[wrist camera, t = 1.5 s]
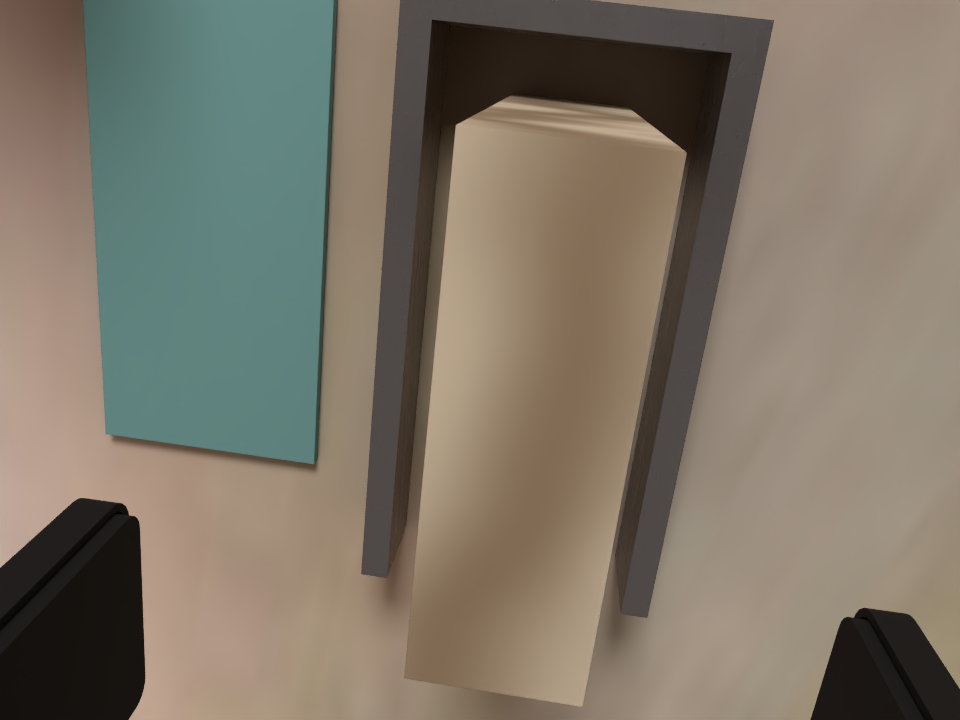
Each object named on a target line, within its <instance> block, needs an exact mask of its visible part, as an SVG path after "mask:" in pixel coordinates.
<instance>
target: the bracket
mask: <svg viewBox="0 0 960 720" xmlns="http://www.w3.org/2000/svg"><path fill="white" fill-rule="evenodd" d="M773 23H774V20H765V19H756V18H747V17H738V16H729V15H719V14H710V13H701V12H692V11H683V10H674V9H665V8H655V7H646V6H637V5H628V4H619V3H610V2H601V1H591V0H400V12H399V27H398V42H397V56H396V71H395V86H394V101H393V115H392V130H391V145H390V160H389V174H388V189H387V204H386V218H385V233H384V248H383V263H382V277H381V292H380V307H379V322H378V336H377V351H376V366H375V380H374V395H373V410H372V425H371V439H370V454H369V469H368V484H367V498H366V513H365V528H364V542H363V557H362V572H361V574H364V575H371V576H377V577H384V578H387V576H388V573H389V571H390V568H391V565H392V562H393V559H394V557H395V554H396V551H397V548H398V545H399V543H400V540H401V537H402V534H403V531H404V529H405V526H406V519H407V508H408V497H409V485H410V474H411V462H412V451H413V440H414V428H415V417H416V405H417V394H418V383H419V371H420V360H421V348H422V337H423V325H424V314H425V303H426V291H427V280H428V268H429V257H430V246H431V234H432V223H433V211H434V200H435V189H436V177H437V166H438V154H439V143H440V131H441V120H442V109H443V97H444V86H445V74H446V63H447V52H448V40H449V29H450V25H453V26H462V27H471V28H480V29H488V30H497V31H506V32H515V33H524V34H533V35H542V36H551V37H560V38H569V39H578V40H586V41H595V42H604V43H613V44H622V45H631V46H640V47H649V48H658V49H667V50H676V51H685V52H693V53H702V54H711V56H710V61H709V66H708V71H707V77H706V82H705V87H704V92H703V98H702V103H701V108H700V113H699V119H698V124H697V129H696V134H695V140H694V145H693V150H692V155H691V161H690V166H689V171H688V176H687V182H686V187H685V192H684V197H683V203H682V208H681V213H680V218H679V224H678V229H677V234H676V239H675V245H674V250H673V255H672V260H671V266H670V271H669V276H668V281H667V287H666V292H665V297H664V302H663V308H662V313H661V318H660V323H659V329H658V334H657V339H656V344H655V350H654V355H653V360H652V365H651V371H650V376H649V381H648V386H647V392H646V397H645V402H644V407H643V413H642V418H641V423H640V428H639V434H638V439H637V444H636V449H635V455H634V460H633V465H632V471H631V476H630V481H629V486H628V492H627V497H626V502H625V507H624V513H623V518H622V523H621V528H620V534H619V539H618V544H617V549H616V555H615V556H616V567H617V578H618V589H619V600H620V611H621V614H626V615H632V616H639V617H646V618H647V616H648V612H649V607H650V602H651V598H652V593H653V588H654V584H655V579H656V574H657V569H658V565H659V560H660V555H661V551H662V546H663V541H664V536H665V532H666V527H667V522H668V518H669V513H670V508H671V503H672V499H673V494H674V489H675V485H676V480H677V475H678V470H679V466H680V461H681V456H682V452H683V447H684V442H685V437H686V433H687V428H688V423H689V419H690V414H691V409H692V404H693V400H694V395H695V390H696V386H697V381H698V376H699V371H700V367H701V362H702V357H703V353H704V348H705V343H706V339H707V334H708V329H709V324H710V320H711V315H712V310H713V306H714V301H715V296H716V291H717V287H718V282H719V277H720V273H721V268H722V263H723V258H724V254H725V249H726V244H727V240H728V235H729V230H730V225H731V221H732V216H733V211H734V207H735V202H736V197H737V192H738V188H739V183H740V178H741V174H742V169H743V164H744V159H745V155H746V150H747V145H748V141H749V136H750V131H751V126H752V122H753V117H754V112H755V108H756V103H757V98H758V93H759V89H760V84H761V79H762V75H763V70H764V65H765V61H766V56H767V51H768V46H769V42H770V37H771V32H772V28H773Z"/></svg>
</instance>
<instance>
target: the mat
mask: <svg viewBox="0 0 960 720" xmlns="http://www.w3.org/2000/svg"><path fill="white" fill-rule="evenodd" d="M83 14H84V33H85V52H86V70H87V89H88V108H89V126H90V145H91V164H92V183H93V201H94V220H95V239H96V258H97V276H98V295H99V314H100V333H101V351H102V370H103V389H104V408H105V426H106V434H109V435H116V436H123V437H130V438H137V439H144V440H151V441H158V442H164V443H171V444H178V445H185V446H192V447H199V448H206V449H213V450H219V451H226V452H233V453H240V454H247V455H254V456H261V457H268V458H274V459H281V460H288V461H295V462H302V463H309V464H314V463H315V462H316V460H317V455H318V433H319V410H320V387H321V364H322V341H323V319H324V296H325V273H326V250H327V228H328V205H329V182H330V159H331V136H332V114H333V91H334V68H335V45H336V23H337V0H83Z"/></svg>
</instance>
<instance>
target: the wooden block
mask: <svg viewBox="0 0 960 720" xmlns="http://www.w3.org/2000/svg"><path fill="white" fill-rule="evenodd" d="M686 155H687V152H685V151H684V150H683V149H682V148H680V147H679V146H678V145H676V144H675V143H674V142H672V141H671V140H670V139H669V138H667V137H666V136H665V135H663V134H662V133H661V132H659V131H658V130H657V129H656V128H654V127H653V126H652V125H650V124H649V123H648V122H647V121H645V120H644V119H643V118H641V117H640V116H639V115H637V114H636V113H635V112H634V111H632V110H631V109H630V108H628V107H625V106H617V105H608V104H599V103H591V102H582V101H574V100H565V99H557V98H548V97H539V96H531V95H522V94H513V95H511V96H509V97H507V98H505V99H503V100H502V101H500V102H498V103H496V104H494V105H492V106H490V107H489V108H487V109H485V110H483V111H481V112H479V113H477V114H475V115H474V116H472V117H470V118H468V119H466V120H464V121H462V122H461V123H459V124H457V125H456V129H455V139H454V150H453V161H452V172H451V182H450V193H449V204H448V214H447V225H446V236H445V246H444V257H443V268H442V278H441V289H440V300H439V311H438V321H437V332H436V343H435V353H434V364H433V375H432V385H431V396H430V407H429V417H428V428H427V439H426V450H425V460H424V471H423V482H422V492H421V503H420V514H419V524H418V535H417V546H416V556H415V567H414V578H413V589H412V599H411V610H410V621H409V631H408V642H407V653H406V663H405V674H404V678H406V679H412V680H418V681H425V682H431V683H437V684H443V685H450V686H456V687H462V688H468V689H475V690H481V691H487V692H493V693H499V694H506V695H512V696H518V697H524V698H531V699H537V700H543V701H549V702H556V703H562V704H568V705H574V706H581V707H583V701H584V696H585V691H586V686H587V680H588V675H589V670H590V664H591V659H592V654H593V648H594V643H595V638H596V632H597V627H598V622H599V617H600V611H601V606H602V601H603V595H604V590H605V585H606V579H607V574H608V569H609V563H610V558H611V553H612V548H613V542H614V537H615V532H616V526H617V521H618V516H619V510H620V505H621V500H622V494H623V489H624V484H625V478H626V473H627V468H628V463H629V457H630V452H631V447H632V441H633V436H634V431H635V425H636V420H637V415H638V409H639V404H640V399H641V394H642V388H643V383H644V378H645V372H646V367H647V362H648V356H649V351H650V346H651V340H652V335H653V330H654V325H655V319H656V314H657V309H658V303H659V298H660V293H661V287H662V282H663V277H664V271H665V266H666V261H667V255H668V250H669V245H670V240H671V234H672V229H673V224H674V218H675V213H676V208H677V202H678V197H679V192H680V186H681V181H682V176H683V171H684V165H685V160H686Z"/></svg>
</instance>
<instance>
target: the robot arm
mask: <svg viewBox="0 0 960 720" xmlns="http://www.w3.org/2000/svg"><path fill="white" fill-rule="evenodd" d="M144 684H145V656H144V629H143V601H142V574H141V547H140V526H139V521H138V519H137V518H136V517H135V516H129V514H128V510H127V508H126V506H125V505H123V504H122V503H115V502H107V501H100V500H93V499H86V498H79V499H77V500H76V501H74V502H73V503H72V504H71V505H70V506H68V507H67V508H66V509H65V510H64V511H63V512H62V513H61V514H60V515H58V516H57V517H56V518H55V519H54V520H53V521H52V522H51V523H50V524H48V525H47V526H46V527H45V528H44V529H43V530H42V531H41V532H40V533H39V534H37V535H36V536H35V537H34V538H33V539H32V540H31V541H30V542H29V543H27V544H26V545H25V546H24V547H23V548H22V549H21V550H20V551H19V552H18V553H16V554H15V555H14V556H13V557H12V558H11V559H10V560H9V561H8V562H6V563H5V564H4V565H3V566H2V567H1V568H0V720H128V719H129V718H130V716H131V715H132V713H133V712H134V710H135V709H136V707H137V705H138V703H139V701H140V699H141V696H142V693H143V689H144ZM811 720H960V689H959V687H958V686H957V684H956V683H955V681H954V680H953V678H952V676H951V675H950V673H949V672H948V670H947V669H946V667H945V666H944V664H943V663H942V661H941V660H940V658H939V656H938V655H937V653H936V652H935V650H934V649H933V647H932V646H931V644H930V643H929V641H928V640H927V638H926V636H925V635H924V633H923V632H922V630H921V629H920V627H919V626H918V624H917V623H916V621H915V620H914V619H913V618H912V617H911V616H910V615H908V614H904V613H897V612H890V611H883V610H876V609H868V608H862V609H860V610H859V611H858V612H857V613H856V614H855V617H854V618H851V617H846V618H844V619H843V620H842V621H841V624H840V626H839V629H838V632H837V635H836V639H835V642H834V645H833V648H832V652H831V655H830V658H829V662H828V665H827V668H826V671H825V675H824V678H823V681H822V684H821V688H820V691H819V694H818V697H817V701H816V704H815V707H814V710H813V714H812V717H811Z"/></svg>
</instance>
